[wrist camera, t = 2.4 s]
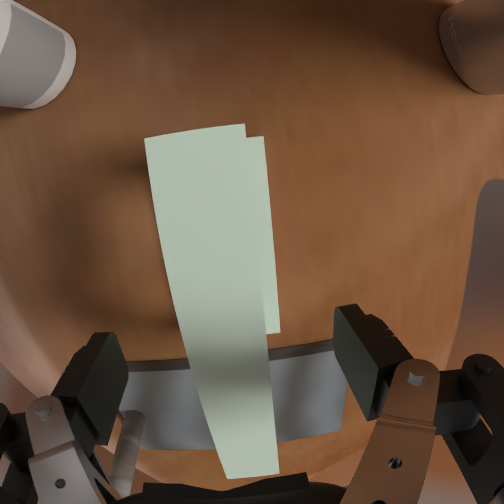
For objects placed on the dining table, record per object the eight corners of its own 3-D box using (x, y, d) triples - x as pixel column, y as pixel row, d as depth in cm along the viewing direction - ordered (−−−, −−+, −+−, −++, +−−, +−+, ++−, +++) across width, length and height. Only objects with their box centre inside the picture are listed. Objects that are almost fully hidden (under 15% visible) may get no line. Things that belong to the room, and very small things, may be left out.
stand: (259, 137, 20) (319, 119, 7) (276, 318, 25) (317, 466, 12) (172, 148, 20) (79, 153, 7) (202, 327, 24) (189, 480, 11)
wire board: (360, 334, 26) (458, 494, 9) (349, 417, 30) (401, 547, 13) (104, 362, 25) (40, 525, 8) (143, 439, 29) (121, 571, 12)
